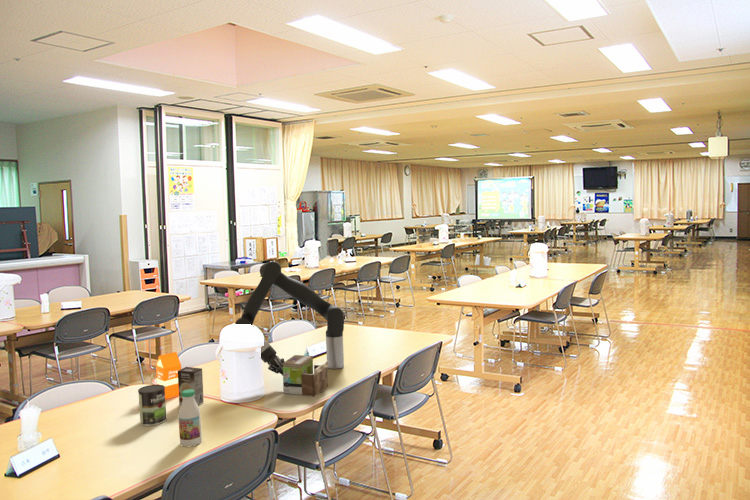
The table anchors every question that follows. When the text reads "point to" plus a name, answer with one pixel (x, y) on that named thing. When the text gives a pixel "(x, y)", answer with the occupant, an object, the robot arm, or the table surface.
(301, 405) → the table surface
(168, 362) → the orange juice
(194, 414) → the milk bottle
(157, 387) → the coffee can
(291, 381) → the tea box
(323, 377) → the display stand
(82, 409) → the table surface
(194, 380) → the coffee box
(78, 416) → the table surface
